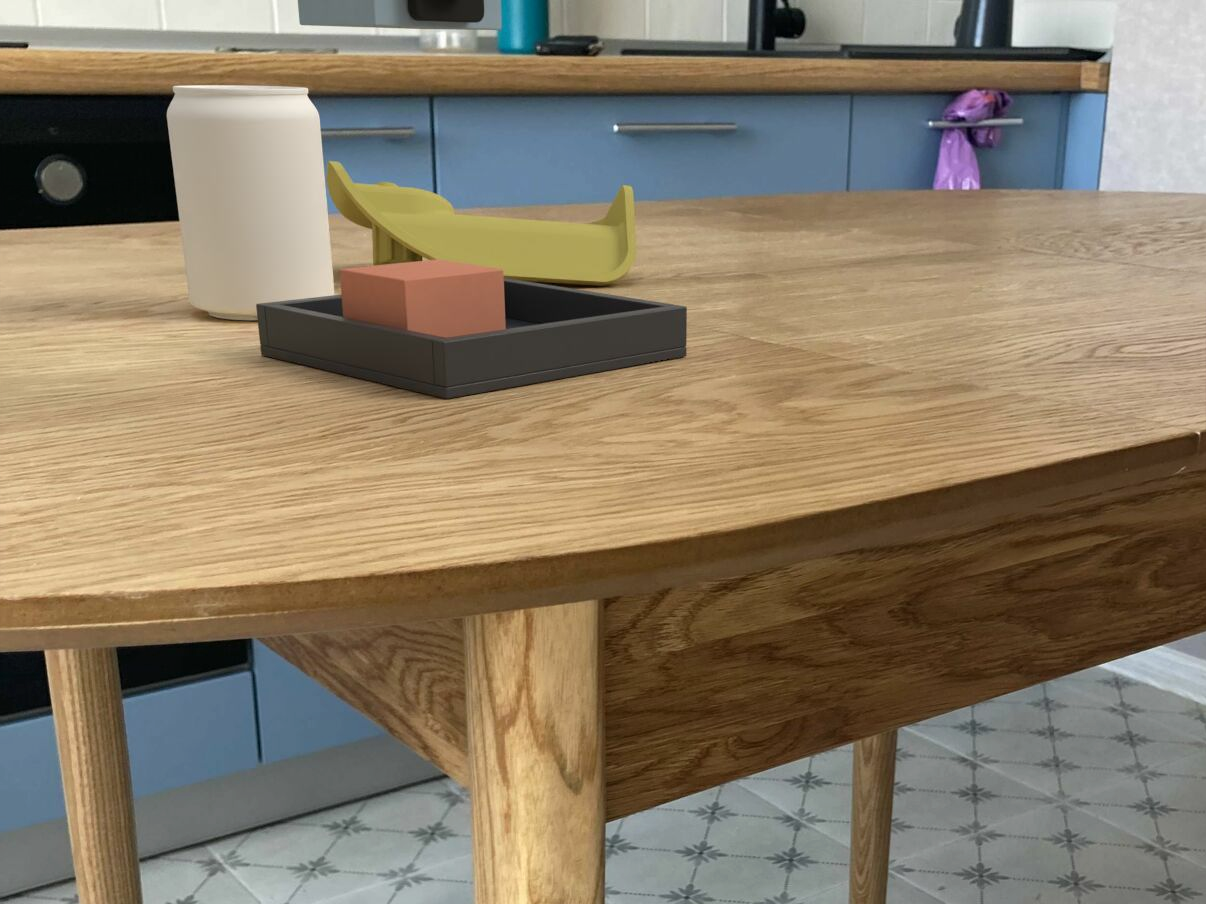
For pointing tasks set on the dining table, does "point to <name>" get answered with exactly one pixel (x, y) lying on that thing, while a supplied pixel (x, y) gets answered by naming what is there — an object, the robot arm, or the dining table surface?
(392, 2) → the slate blue box block
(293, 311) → the backing tray
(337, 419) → the dining table surface
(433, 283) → the coral box block
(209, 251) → the beverage can
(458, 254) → the plastic component
